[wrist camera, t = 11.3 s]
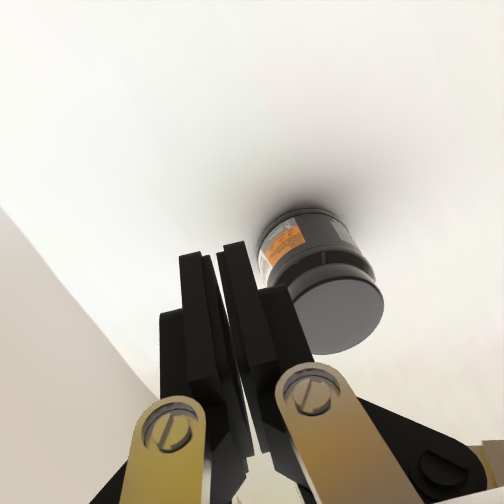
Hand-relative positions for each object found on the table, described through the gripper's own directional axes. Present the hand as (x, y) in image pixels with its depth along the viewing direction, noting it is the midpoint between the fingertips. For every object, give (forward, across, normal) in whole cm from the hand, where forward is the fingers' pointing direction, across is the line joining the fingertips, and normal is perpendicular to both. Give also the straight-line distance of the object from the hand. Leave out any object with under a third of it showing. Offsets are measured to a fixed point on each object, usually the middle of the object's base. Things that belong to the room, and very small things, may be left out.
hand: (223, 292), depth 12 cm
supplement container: (+32, -8, +23) cm, 41 cm away
